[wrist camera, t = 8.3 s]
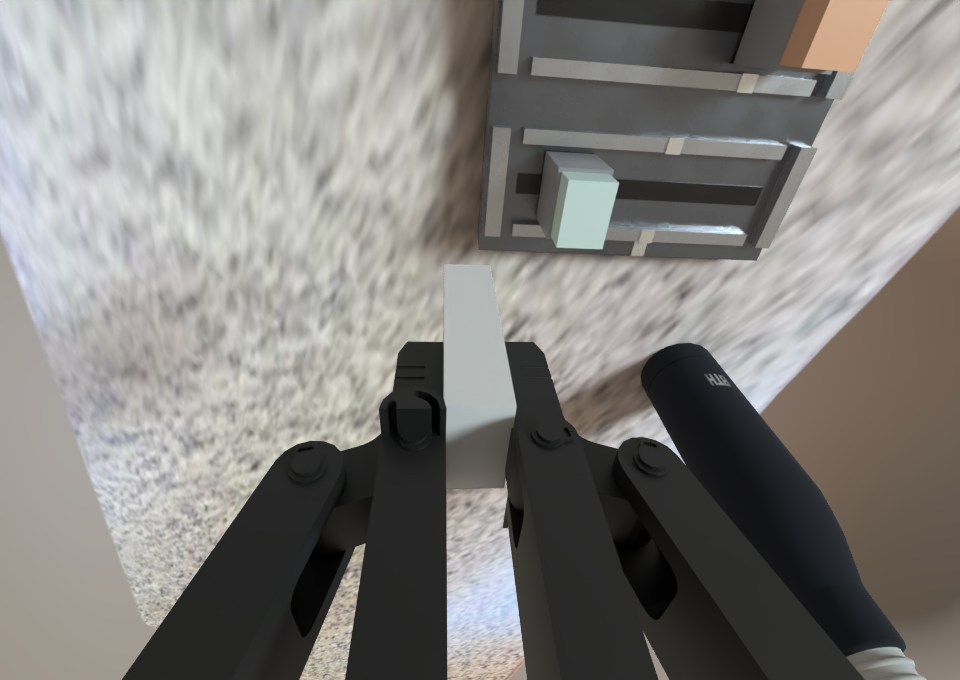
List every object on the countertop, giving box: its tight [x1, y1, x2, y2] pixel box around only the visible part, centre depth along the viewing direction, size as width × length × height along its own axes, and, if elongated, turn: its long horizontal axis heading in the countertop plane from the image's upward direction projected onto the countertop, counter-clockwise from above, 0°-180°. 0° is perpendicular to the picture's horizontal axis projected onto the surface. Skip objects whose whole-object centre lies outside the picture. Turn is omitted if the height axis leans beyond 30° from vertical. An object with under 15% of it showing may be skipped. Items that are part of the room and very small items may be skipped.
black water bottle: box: [641, 343, 927, 680], centre depth 28 cm, size 6×6×30 cm
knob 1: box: [536, 151, 619, 249], centre depth 25 cm, size 4×3×5 cm
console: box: [478, 0, 890, 260], centre depth 25 cm, size 18×20×3 cm
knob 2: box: [733, 0, 890, 75], centre depth 21 cm, size 4×3×5 cm
